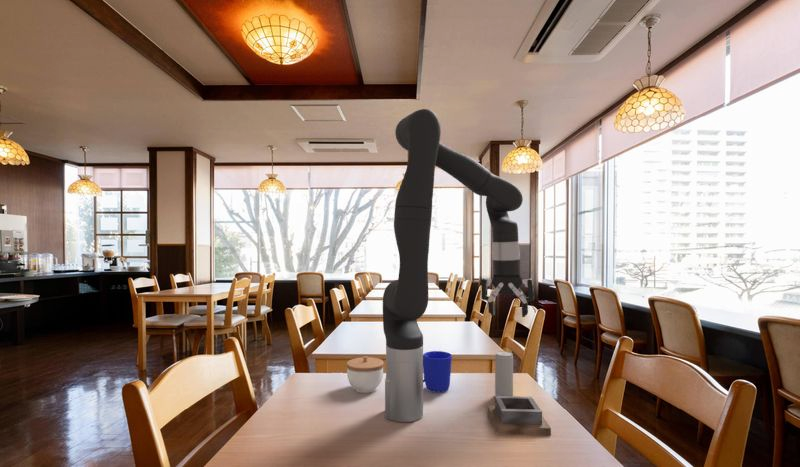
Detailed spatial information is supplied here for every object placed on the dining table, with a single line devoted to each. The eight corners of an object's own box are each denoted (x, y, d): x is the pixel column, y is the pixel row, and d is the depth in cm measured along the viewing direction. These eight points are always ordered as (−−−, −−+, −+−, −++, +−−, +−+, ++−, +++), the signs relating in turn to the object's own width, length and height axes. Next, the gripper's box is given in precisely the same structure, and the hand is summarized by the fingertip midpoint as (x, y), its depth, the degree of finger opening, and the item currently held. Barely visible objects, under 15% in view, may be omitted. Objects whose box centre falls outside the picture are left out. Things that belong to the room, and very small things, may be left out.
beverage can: (515, 400, 114) (515, 355, 114) (497, 400, 114) (497, 355, 114) (510, 393, 119) (510, 351, 119) (493, 393, 119) (493, 350, 119)
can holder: (496, 433, 94) (496, 413, 94) (487, 411, 106) (487, 393, 106) (550, 435, 94) (550, 414, 94) (536, 412, 106) (536, 394, 106)
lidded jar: (382, 396, 117) (382, 362, 117) (344, 396, 117) (344, 362, 117) (384, 382, 127) (384, 351, 127) (349, 382, 127) (349, 351, 128)
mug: (411, 383, 127) (411, 349, 127) (452, 385, 125) (452, 351, 125) (408, 393, 119) (408, 357, 119) (451, 395, 117) (451, 359, 117)
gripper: (477, 259, 117) (480, 317, 117) (531, 258, 111) (533, 320, 112) (483, 257, 124) (485, 312, 124) (534, 256, 118) (536, 314, 118)
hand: (508, 315), depth 118 cm, fingers open, 8 cm apart
